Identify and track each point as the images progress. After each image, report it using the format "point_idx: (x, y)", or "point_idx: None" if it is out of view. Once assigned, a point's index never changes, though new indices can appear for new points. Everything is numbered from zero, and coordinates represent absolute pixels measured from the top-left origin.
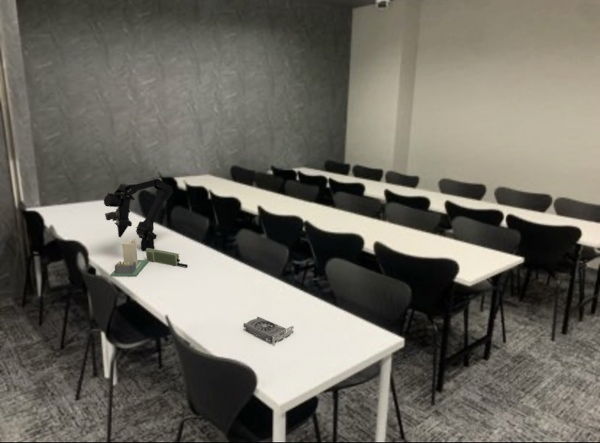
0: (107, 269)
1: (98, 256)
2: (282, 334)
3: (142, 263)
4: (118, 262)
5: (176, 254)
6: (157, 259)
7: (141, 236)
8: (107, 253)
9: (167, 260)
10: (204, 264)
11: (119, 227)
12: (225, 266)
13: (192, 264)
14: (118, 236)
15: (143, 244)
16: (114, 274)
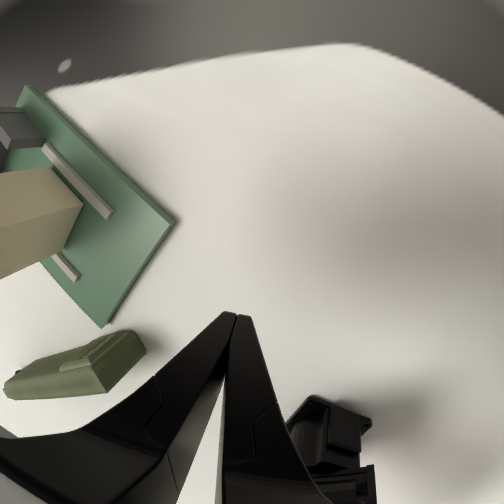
0: (109, 79)
1: (419, 105)
2: None
3: (67, 277)
4: None
5: (5, 389)
6: (74, 353)
7: (366, 479)
8: (444, 192)
9: (41, 364)
10: (40, 415)
11: (84, 439)
12: (24, 424)
13: (44, 400)
14: (246, 316)
15: (317, 436)
16: (17, 102)
